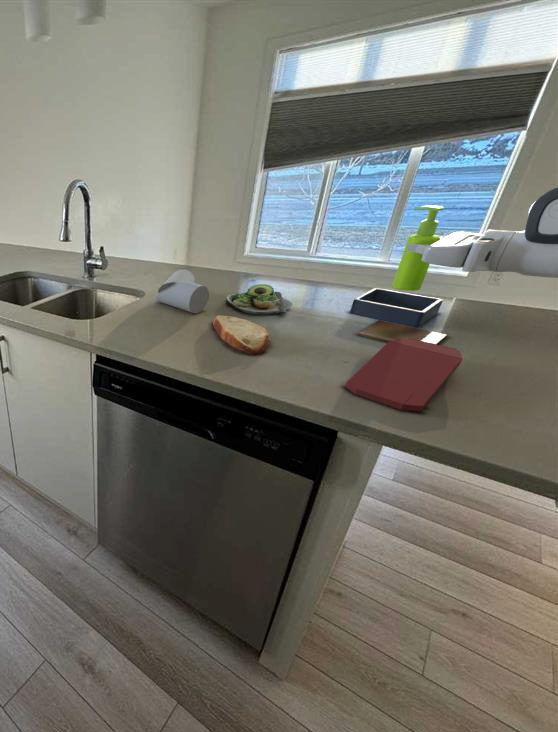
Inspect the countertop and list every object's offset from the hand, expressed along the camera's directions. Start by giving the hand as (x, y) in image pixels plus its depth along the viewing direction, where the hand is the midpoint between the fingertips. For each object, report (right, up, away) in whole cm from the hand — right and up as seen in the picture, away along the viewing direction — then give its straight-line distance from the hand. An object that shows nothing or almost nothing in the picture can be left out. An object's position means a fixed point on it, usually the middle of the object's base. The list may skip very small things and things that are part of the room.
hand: (414, 244), depth 103 cm
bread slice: (-44, -24, +4) cm, 50 cm away
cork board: (-6, -24, -3) cm, 25 cm away
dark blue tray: (+2, -16, +9) cm, 18 cm away
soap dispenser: (+2, -10, +5) cm, 11 cm away
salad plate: (-29, -11, +22) cm, 38 cm away
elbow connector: (-50, -9, +30) cm, 59 cm away
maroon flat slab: (-20, -35, -20) cm, 45 cm away
